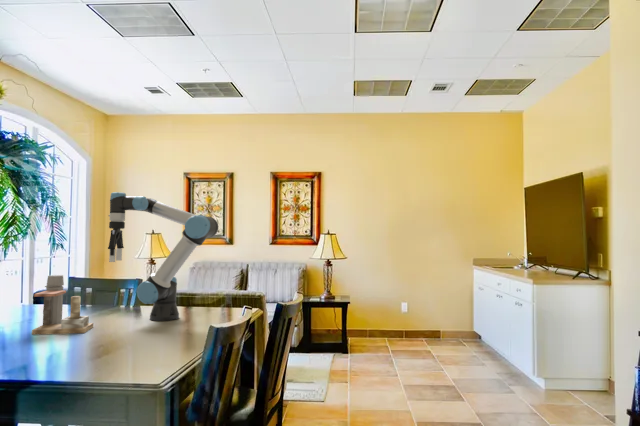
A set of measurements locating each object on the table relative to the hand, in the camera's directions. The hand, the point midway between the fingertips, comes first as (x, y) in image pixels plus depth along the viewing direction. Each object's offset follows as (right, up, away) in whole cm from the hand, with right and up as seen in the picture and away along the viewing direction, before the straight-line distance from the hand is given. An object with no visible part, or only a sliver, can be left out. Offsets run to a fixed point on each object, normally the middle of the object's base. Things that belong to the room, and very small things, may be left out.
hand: (115, 261), depth 228 cm
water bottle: (-24, -31, -15) cm, 42 cm away
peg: (-8, -28, -24) cm, 38 cm away
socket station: (-13, -30, -24) cm, 41 cm away
